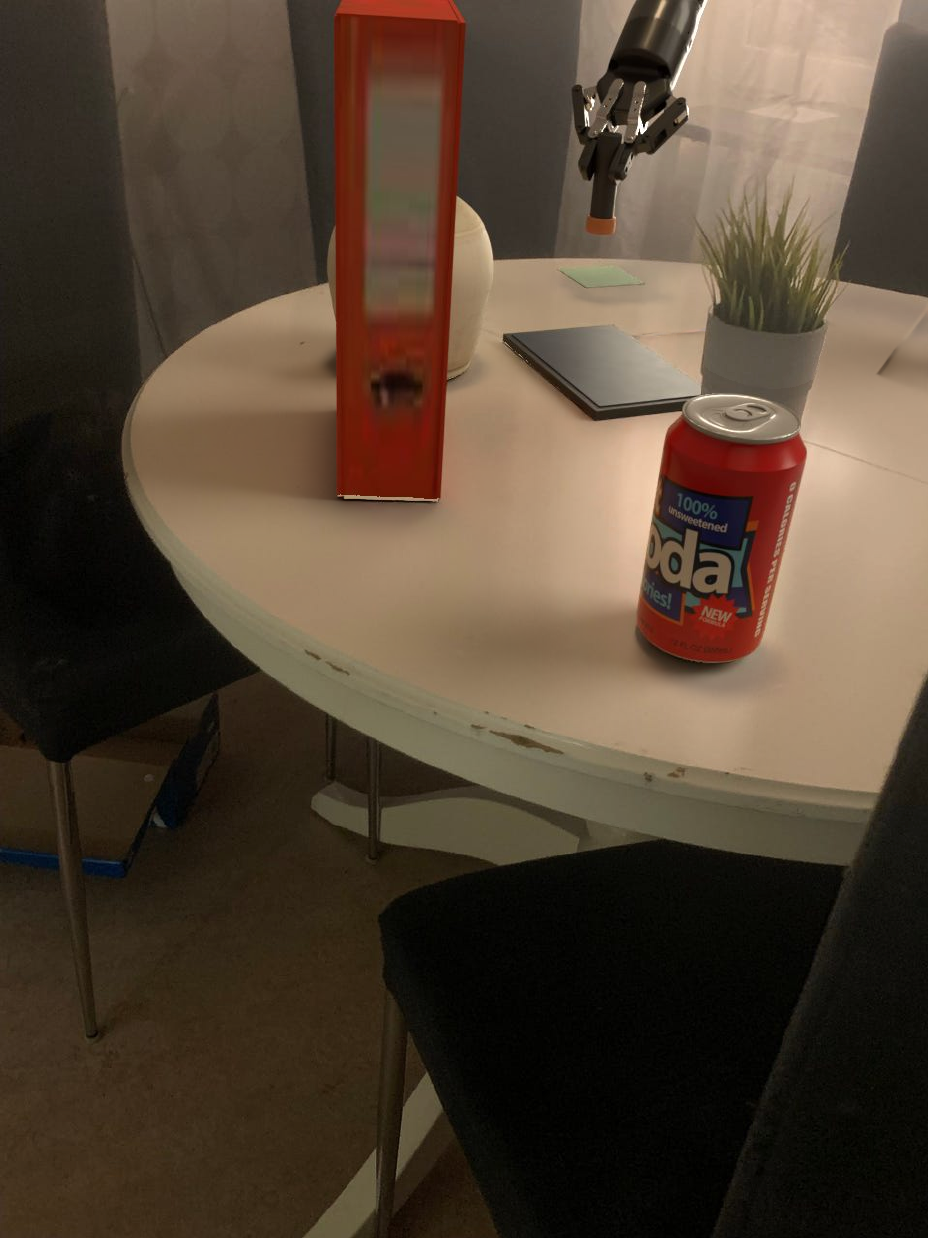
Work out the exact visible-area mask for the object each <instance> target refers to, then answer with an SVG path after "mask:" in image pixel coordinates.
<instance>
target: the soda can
mask: <svg viewBox="0 0 928 1238" xmlns="http://www.w3.org/2000/svg"><path fill="white" fill-rule="evenodd" d="M801 428H802V420H801V419H800V417H799V416H798V415H797V413H795V412H794V411H793V410H792V409H790V408H789V407H786V406H785V405H783V404H780V403H779V402H775V401H773V400H770V399H766V398H763V397H761V396H760V397H759V396H755V395H749V394H745V393H744V394H743V393H733V392H714V393H712V394H705V395H700V396H696V397H694V398H691V399H689V400H688V401H687V402H686V403H685V404H684V405H683V408H682V410H681V414H680V415H679V417H677V419H676V420H675V421H673V423H671V424H670V425H669V426H668V428H667V430H666V432H665V436H664V442H663V447H662V452H661V460H660V466H659V470H658V471H659V472H658V478H657V483H656V484H657V485H656V488H655V496H654V502H653V503H654V504H653V508H652V514H651V520H650V527H649V532H648V533H649V534H648V539H647V544H646V545H647V546H646V550H645V551H646V552H645V558H644V564H643V570H642V576H641V580H640V581H641V583H640V589H639V595H638V600H637V607H636V624H637V627H638V629H639V630H640V631H639V632H641V634H642V635H643V636H644V638H645V639H646V640H647V641H648V642H650V643H651V645H653V646H655V647H656V648H658V649H659V650H661V651H663V652H664V653H666V654H669V655H671V656H674V657H676V658H679V659H681V658H682V660H685V659H686V660H685V661H688V660H690V661H689V662H693V661H695V662H694V663H700V662H702V664H722V663H730V662H734V661H738V660H740V659H743V658H746V657H747V656H749V655H751V654H752V653H753V652H755V651H756V650H757V649H758V647H759V646H760V644H761V642H762V640H763V638H764V635H765V630H766V626H767V623H768V618H769V615H770V611H771V606H772V602H773V598H774V594H775V589H776V586H777V582H778V577H779V574H780V570H781V565H782V561H783V557H784V553H785V549H786V545H787V540H788V537H789V532H790V528H791V525H792V520H793V516H794V513H795V507H796V504H797V500H798V496H799V491H800V488H801V483H802V480H803V479H802V478H803V475H804V471H805V466H806V462H807V456H808V451H807V447H806V444H805V443H804V440H803V438H802V436H801V434H800V430H801Z"/></svg>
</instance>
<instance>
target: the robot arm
mask: <svg viewBox="0 0 928 1238" xmlns="http://www.w3.org/2000/svg"><path fill="white" fill-rule="evenodd" d="M707 1H708V0H635V1H634V3H633V4H632V7H631V9H630V11H629V13H628V16H627V18H626V21H625V23H624V26H623V28H622V30H621V32H620V35H619V37H618V40H617V42H616V45H615V47H614V49H613V52H612V54H611V56H610V58H609V62H608V66H607V69H606V72H605V73H604V74H603V76H601V78H599V80H597V82H596V85H593V86H590V87H587V88H583V86H582V84H575V85H573V86H572V88H571V100H572V113H573V123H574V124H573V125H574V130H575V133H576V135H577V139H578V141H579V144H580V145H581V146H583V149H582V152H581V154H580V157H579V159H578V161H577V167H578V169H579V173H580V175H581V178H582V180H583V181H585V182H586V181H587V182H591V180H593V179H592V178H593V177H594V169H595V160H596V150H597V140H598V133H599V132H616V131H617V129H618V128H619V126H626V127H625V132H624V135H623V142H622V143H620V144H619V147H618V149H617V151H616V154H615V156H614V159H613V161H612V164H611V166H610V168H609V171H608V177H609V180H610V184H611V185H617V186H619V184H620V182H624V180H625V179H626V178H627V177H628V174H629V172H630V169H631V167H632V164H633V162H634V160H635V158H636V157H637V156H638V155H640V154H643V153H645V154H646V155H649V156H651V155H654V154H655V153H657V152H658V151H659V149H660V148H661V147H662V146H663V145H665V143H666V142H668V140H670V139H671V137H673V136H674V134H676V133H677V132H678V131H679V130H680V129H681V128H682V127H683V126H684V125H685V124H686V123H687V122H688V120H689V119H690V115H689V107H688V102H687V99H686V98H685V97H683V96H680V97H675V96H674V94H673V90H674V88H675V86H676V83H677V81H678V78H679V76H680V74H681V71H682V69H683V66H684V65H685V61H686V59H687V56H688V54H689V52H690V51H691V49H692V46H693V43H694V39H695V36H696V34H697V30H698V25H699V21H700V18H701V17H702V13H703V11H704V8H705V6H706V4H707ZM596 100H599V103H600V106H599V108H598V110H597V111H596V113H595V114H596V115H595V119H594V121H593V123H592V125H591V126H590V121H589V112H592V108H593V107H594V103H595V101H596ZM659 114H660V115H659ZM657 116H658V117H657ZM655 117H657V118H656V119H655ZM653 119H655V120H654V121H653V122H652V123H651V124H650V125H649V122H650V121H651V120H653ZM648 125H649V126H648Z"/></svg>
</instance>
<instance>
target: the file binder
mask: <svg viewBox="0 0 928 1238" xmlns="http://www.w3.org/2000/svg"><path fill="white" fill-rule="evenodd" d="M466 25H467V22H466V21H465V19H464V17H463V15H462V13H461V12H460V11H459V8H458V7H457V6H456V4H455V2H454V1H453V0H341V1H340V3H339V5H338V7H337V9H336V11H335V13H334V16H333V47H334V48H333V49H334V51H333V55H334V56H333V59H334V60H333V61H334V62H333V63H334V64H333V65H334V67H333V69H334V70H333V71H334V75H333V76H334V80H333V81H334V212H335V213H334V218H335V219H334V220H335V223H334V227H335V246H336V319H335V371H336V372H335V378H336V379H335V381H336V382H335V383H336V384H335V385H336V388H335V389H336V390H335V391H336V393H335V394H336V395H335V397H336V399H335V400H336V401H335V404H336V409H335V410H336V496H337V495H340V494H341V495H356V496H357V495H360V496H377V497H379V496H380V497H413V498H424V499H437V498H441V497H442V478H443V463H444V462H443V460H444V443H445V423H446V405H447V387H448V385H447V383H448V381H447V369H448V350H449V331H450V312H451V293H452V275H453V256H454V237H455V218H456V199H457V196H458V195H457V194H458V181H459V158H460V143H461V142H460V139H461V124H462V106H463V105H462V102H463V86H464V85H463V83H464V68H465V67H464V65H465V48H466V29H467V28H466Z"/></svg>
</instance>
